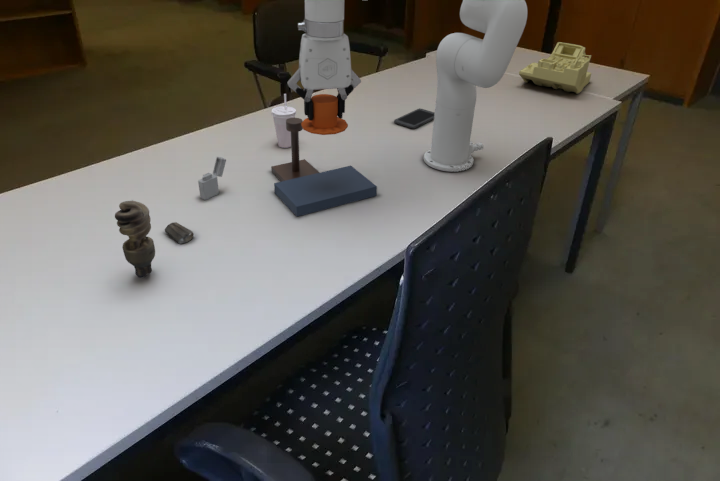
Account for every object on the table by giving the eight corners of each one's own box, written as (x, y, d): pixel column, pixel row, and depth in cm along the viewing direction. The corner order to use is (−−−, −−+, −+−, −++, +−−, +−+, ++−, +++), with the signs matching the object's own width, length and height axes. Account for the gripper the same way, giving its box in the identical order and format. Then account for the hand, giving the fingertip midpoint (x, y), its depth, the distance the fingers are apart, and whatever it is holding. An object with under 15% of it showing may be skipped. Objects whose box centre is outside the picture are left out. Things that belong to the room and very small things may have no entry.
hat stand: (304, 164, 145) (303, 111, 137) (321, 179, 138) (320, 124, 131) (271, 171, 141) (268, 117, 133) (286, 187, 135) (284, 131, 127)
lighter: (205, 200, 129) (200, 167, 124) (200, 197, 129) (195, 165, 125) (229, 188, 133) (226, 157, 129) (224, 186, 134) (220, 154, 130)
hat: (334, 114, 129) (334, 88, 126) (356, 130, 122) (357, 102, 119) (293, 121, 125) (292, 94, 121) (314, 138, 117) (313, 109, 114)
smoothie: (293, 151, 151) (291, 99, 144) (269, 148, 152) (266, 96, 145) (300, 141, 156) (298, 90, 149) (277, 139, 157) (274, 88, 150)
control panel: (541, 33, 207) (600, 36, 197) (539, 74, 216) (594, 80, 207) (517, 58, 192) (579, 64, 182) (516, 102, 202) (575, 109, 192)
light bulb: (133, 266, 107) (117, 195, 99) (164, 266, 108) (150, 195, 99) (126, 285, 103) (108, 212, 94) (157, 284, 103) (142, 211, 95)
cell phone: (439, 116, 174) (440, 113, 174) (413, 129, 165) (413, 127, 165) (419, 110, 178) (419, 107, 178) (392, 122, 169) (393, 120, 169)
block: (177, 227, 119) (176, 219, 118) (196, 237, 116) (195, 230, 115) (162, 234, 116) (161, 227, 116) (181, 245, 113) (180, 237, 112)
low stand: (350, 174, 141) (350, 165, 140) (376, 195, 132) (376, 186, 131) (274, 192, 132) (273, 183, 131) (296, 216, 124) (296, 206, 122)
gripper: (283, 34, 107) (287, 126, 117) (372, 31, 111) (368, 121, 121) (277, 25, 113) (281, 113, 123) (362, 22, 117) (359, 108, 127)
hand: (324, 116), depth 122 cm, fingers closed on hat, 5 cm apart
